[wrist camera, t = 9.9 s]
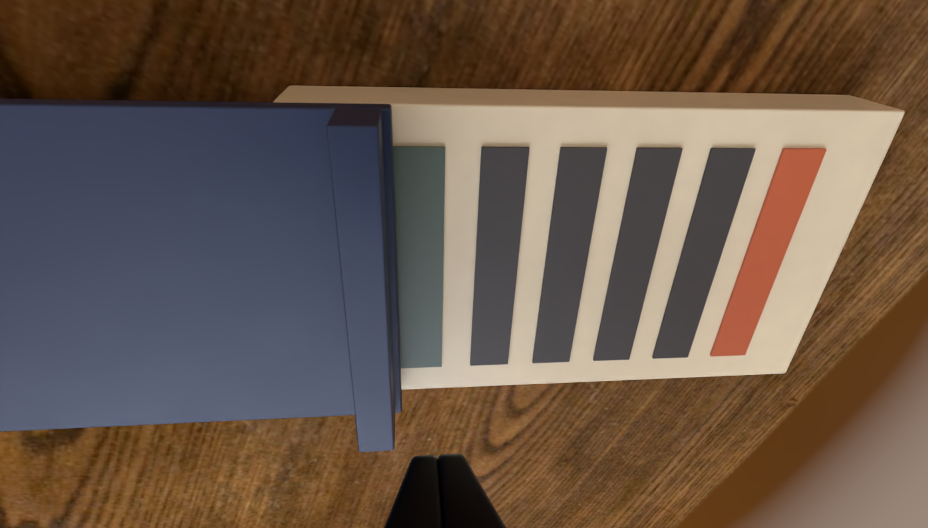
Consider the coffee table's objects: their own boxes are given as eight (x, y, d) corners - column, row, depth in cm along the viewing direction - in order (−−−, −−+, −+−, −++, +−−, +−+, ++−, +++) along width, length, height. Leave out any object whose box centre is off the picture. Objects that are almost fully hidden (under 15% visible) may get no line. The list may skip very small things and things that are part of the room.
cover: (391, 103, 12) (389, 125, 10) (401, 401, 16) (401, 450, 14) (-440, 92, 10) (-608, 115, 8) (-166, 427, 14) (-239, 485, 13)
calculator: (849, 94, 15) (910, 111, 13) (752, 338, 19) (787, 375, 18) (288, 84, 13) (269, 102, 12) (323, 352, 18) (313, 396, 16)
